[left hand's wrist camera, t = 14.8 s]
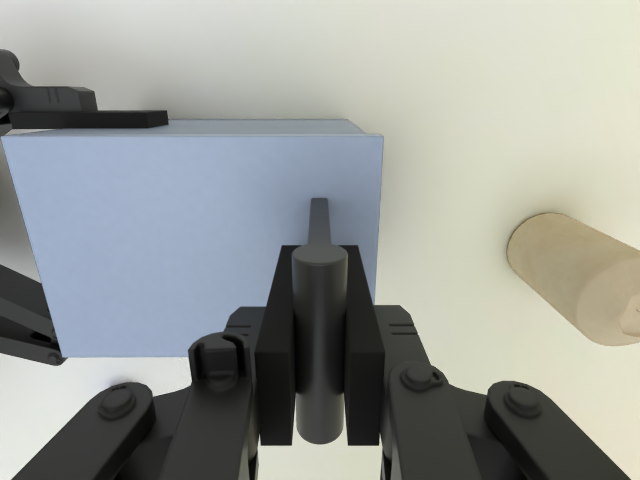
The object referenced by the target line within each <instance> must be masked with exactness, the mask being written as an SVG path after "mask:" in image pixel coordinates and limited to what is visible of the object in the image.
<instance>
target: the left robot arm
mask: <svg viewBox="0 0 640 480" xmlns="http://www.w3.org/2000/svg"><path fill="white" fill-rule="evenodd" d="M300 246H302V245H282V246H281V250H280V254H279V258H278V262H277V266H276V269H275V273H274V277H273V281H272V285H271V289H270V293H269V297H268V301H267V305H266V306H240V307H239V308H238V309H237V310H236V311H234V312H233V313H232V314H231V315H230V317H229V319H228V321H227V324H226V328H225V329H224V331H223V332H217V333H211V334H209V335H206V336H203V337H201V338H200V339H198V340H197V341H195V342H194V343H193V344H192V345H191V346H190V348H189V349H188V356H189V363H190V370H191V377H192V383H191V386H189V387H187V388H184V389H182V390H179V391H175V392H172V393H167V394H163V395H159V396H154V397H153V395H152V391H151V390H150V389H149V388H148V386H147V385H144V384H141V383H123V384H119V385H115V386H112V387H110V388H108V389H106V390H104V391H102V392H100V393H98V394H97V395H96V396H95V397H93V398H92V399H91V400H90V401H89V402H88V403H87V404H86V405H85V406H84V407H83V408H82V409H81V410H80V411H79V412H78V413H77V414H76V415H75V416H74V417H73V418H72V419H71V420H70V421H69V422H68V423H67V424H66V425H65V426H64V427H63V428H62V429H61V430H60V431H59V432H58V433H57V434H56V435H55V436H54V437H53V438H52V439H51V440H50V441H49V442H48V443H47V444H46V445H45V446H44V447H43V448H42V449H41V450H40V451H39V452H38V453H37V454H36V455H35V456H34V457H33V458H32V459H31V460H30V461H29V462H28V463H27V464H26V465H25V466H24V467H23V468H22V469H21V470H20V471H19V472H18V473H17V474H16V475H15V476H14V477H13V478H12V479H11V480H257V477H258V466H259V463H258V450H257V446H258V441H259V435H260V441H261V446H292V436H293V423H294V411H295V398H296V374H295V337H294V309H293V282H292V253H293V251H294V250H295V249H296V248H298V247H300ZM338 246H340V247H342V248H343V249H345V250H346V251H347V254H348V268H347V306H346V325H345V363H344V402H345V415H346V427H347V440H348V446H379V437H380V435H381V441H382V446H383V450H382V463H381V476H380V480H631V479H630V478H629V477H628V476H627V475H626V474H625V473H624V472H623V471H622V470H621V469H620V468H619V467H618V466H617V465H616V464H615V463H614V462H613V461H612V460H611V459H610V458H609V457H608V456H607V455H606V454H605V453H604V452H603V451H602V450H601V449H600V448H599V447H598V446H597V445H596V444H595V443H594V442H593V441H592V440H591V439H590V438H589V437H588V436H587V435H586V434H585V433H584V432H583V431H582V430H581V429H580V428H579V427H578V426H577V425H576V424H575V423H574V422H573V421H572V420H571V419H570V418H569V417H568V416H567V415H566V414H565V413H564V412H563V411H562V410H561V409H560V408H559V407H558V406H557V405H556V404H555V403H554V402H553V401H552V400H551V399H550V398H549V397H548V396H546V395H545V394H544V393H542V392H541V391H540V390H538V389H536V388H534V387H532V386H529V385H527V384H524V383H520V382H516V381H501V382H497V383H494V384H493V385H492V386H491V387H490V388H489V389H488V393H487V395H483V394H479V393H475V392H470V391H466V390H463V389H460V388H456V387H454V386H452V385H450V384H449V382H448V380H447V379H446V377H445V375H444V374H443V373H442V372H441V371H440V370H438V369H437V368H436V367H434V366H432V365H431V364H430V362H429V359H428V357H427V355H426V352H425V350H424V347H423V345H422V342H421V340H420V338H419V335H418V333H417V330H416V328H415V326H414V323H413V321H412V318H411V316H410V314H409V313H408V312H407V311H406V310H404V309H403V308H402V307H401V306H400V305H373V302H372V298H371V294H370V290H369V286H368V282H367V279H366V275H365V271H364V267H363V263H362V259H361V255H360V251H359V247H358V245H338Z"/></svg>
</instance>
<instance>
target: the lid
mask: <svg viewBox="0 0 640 480" xmlns="http://www.w3.org/2000/svg"><path fill="white" fill-rule="evenodd" d="M1 141H2V145H3V148H4V152H5V155H6V159H7V162H8V166H9V169H10V173H11V177H12V180H13V184H14V187H15V191H16V194H17V198H18V201H19V205H20V208H21V212H22V215H23V219H24V222H25V226H26V230H27V233H28V237H29V240H30V244H31V247H32V251H33V254H34V258H35V261H36V265H37V268H38V272H39V276H40V279H41V283H42V286H43V290H44V293H45V297H46V300H47V304H48V307H49V311H50V314H51V318H52V321H53V325H54V329H55V332H56V336H57V339H58V343H59V346H60V350H61V353H62V357H189V356H188V349H189V348H190V346H191V345H192V344H193V343H194V342H195V341H197V340H198V339H200V338H201V337H203V336H206V335H209V334H211V333H217V332H223V331H224V329H225V328H226V324H227V321H228V319H229V317H230V315H231V314H232V313H233V312H234V311H236V310H237V309H238V308H239V307H240V306H266V305H267V301H268V297H269V293H270V289H271V285H272V281H273V277H274V273H275V269H276V266H277V262H278V258H279V254H280V250H281V246H282V245H302V246H300V247H298V248H296V249H295V250H294V251H293V253H292V282H293V309H294V337H295V374H296V422H297V430H298V433H299V434H300V436H301V437H302V438H303V439H304V440H306V441H308V442H310V443H313V444H327V443H330V442H332V441H334V440H335V439H337V438H338V437H339V435H340V434H341V432H342V430H343V418H344V363H345V325H346V306H347V268H348V254H347V251H346V250H345V249H343V248H342V247H340V246H338V245H358V247H359V251H360V255H361V259H362V263H363V267H364V271H365V275H366V279H367V282H368V286H369V290H370V294H371V298H372V302H373V305H374V304H375V286H376V268H377V250H378V232H379V214H380V196H381V178H382V160H383V142H384V137H383V136H382V135H381V134H15V135H7V136H1Z"/></svg>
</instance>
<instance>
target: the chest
mask: <svg viewBox="0 0 640 480" xmlns="http://www.w3.org/2000/svg"><path fill="white" fill-rule="evenodd" d="M168 122H169V125H164V126H159V127H153V128H64V129H56V130H48V131H40V132H31V133H23V134H366V133H365V132H363V131H362V130H361V129H360V128H358V127H357V126H356V125H354V124H353V123H352V122H350V121H349V120H348V119H168Z"/></svg>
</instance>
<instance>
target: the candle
mask: <svg viewBox="0 0 640 480" xmlns="http://www.w3.org/2000/svg"><path fill="white" fill-rule="evenodd" d="M507 257H508V261H509V264H510V266H511V267H512V269H513V270H514V272H515V273H516V274H517V275H518V276H519V277H520V278H521V279H522V280H523V281H525V282H526V283H527V284H528V285H529V286H530V287H531V288H532V289H533V290H535V291H536V292H537V293H538V294H539V295H540V296H541V297H542V298H543V299H545V300H546V301H547V302H548V303H549V304H550V305H551V306H552V307H554V308H555V309H556V310H557V311H558V312H559V313H560V314H561V315H562V316H564V317H565V318H566V319H567V320H568V321H569V322H570V323H571V324H572V325H574V326H575V327H576V328H577V329H578V330H579V331H580V332H581V333H582V334H584V335H585V336H586V337H587V338H588V339H590V340H592V341H593V342H595V343H598V344H601V345H606V346H622V345H629V344H634V343H638V342H640V251H639V250H637V249H635V248H633V247H631V246H629V245H626V244H624V243H622V242H620V241H618V240H616V239H614V238H612V237H610V236H608V235H606V234H604V233H601V232H599V231H597V230H595V229H593V228H591V227H589V226H587V225H585V224H583V223H581V222H579V221H576V220H574V219H572V218H570V217H567V216H565V215H561V214H556V213H546V214H540V215H537V216H534V217H532V218H530V219H528V220H527V221H525V222H524V223H523V224H521V225H520V226H519V227H518V228H517V230H516V231H515V232H514V234H513V235H512V237H511V239H510V241H509V244H508V249H507Z"/></svg>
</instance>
